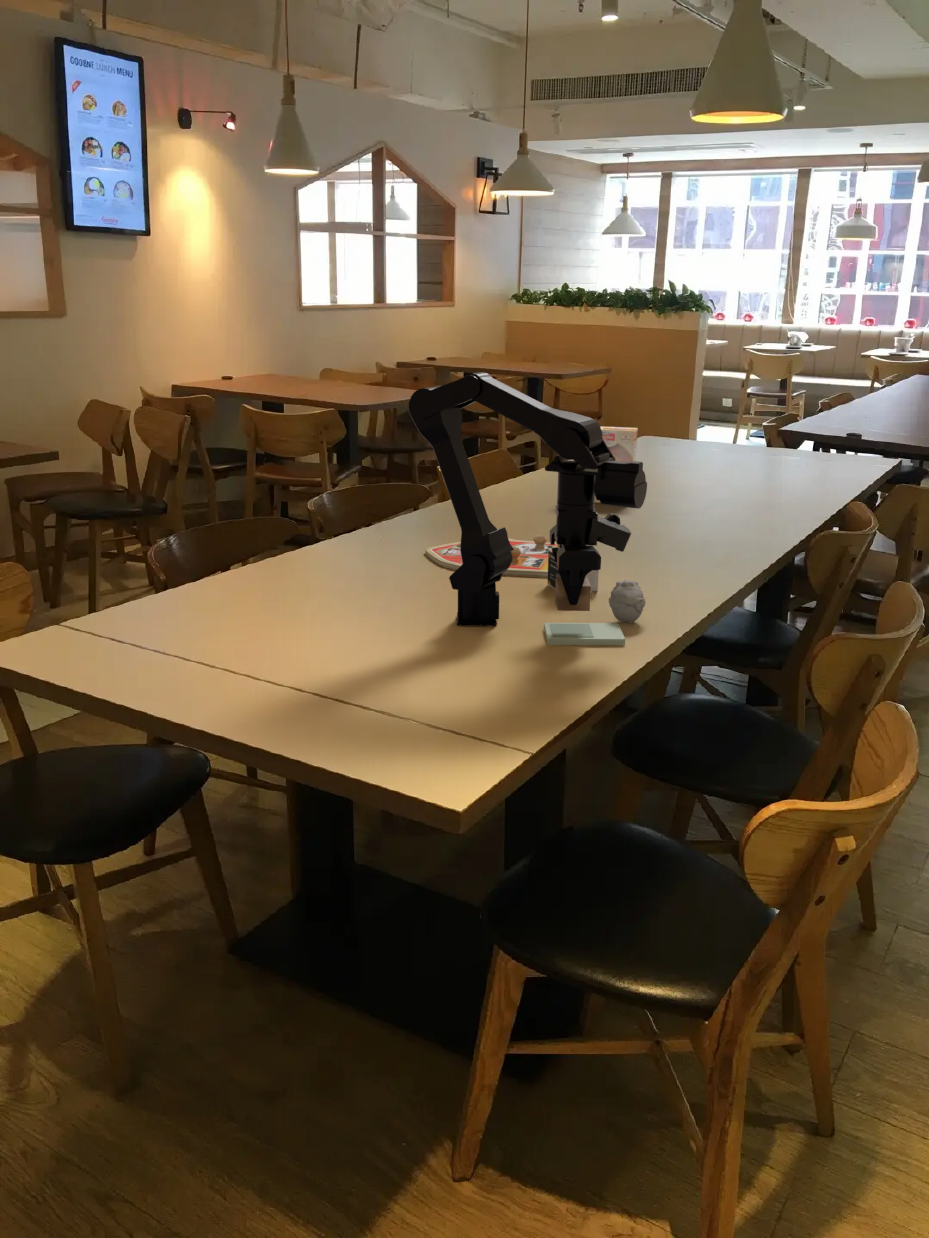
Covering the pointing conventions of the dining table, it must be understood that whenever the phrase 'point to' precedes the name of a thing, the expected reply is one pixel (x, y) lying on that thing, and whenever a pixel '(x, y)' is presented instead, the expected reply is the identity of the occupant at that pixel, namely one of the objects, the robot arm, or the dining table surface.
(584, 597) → the walnut block
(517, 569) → the knob puzzle
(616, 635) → the base board
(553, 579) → the medicine bottle
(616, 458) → the coffeecake box
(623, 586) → the grey lumpy rounded piece
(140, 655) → the dining table surface
